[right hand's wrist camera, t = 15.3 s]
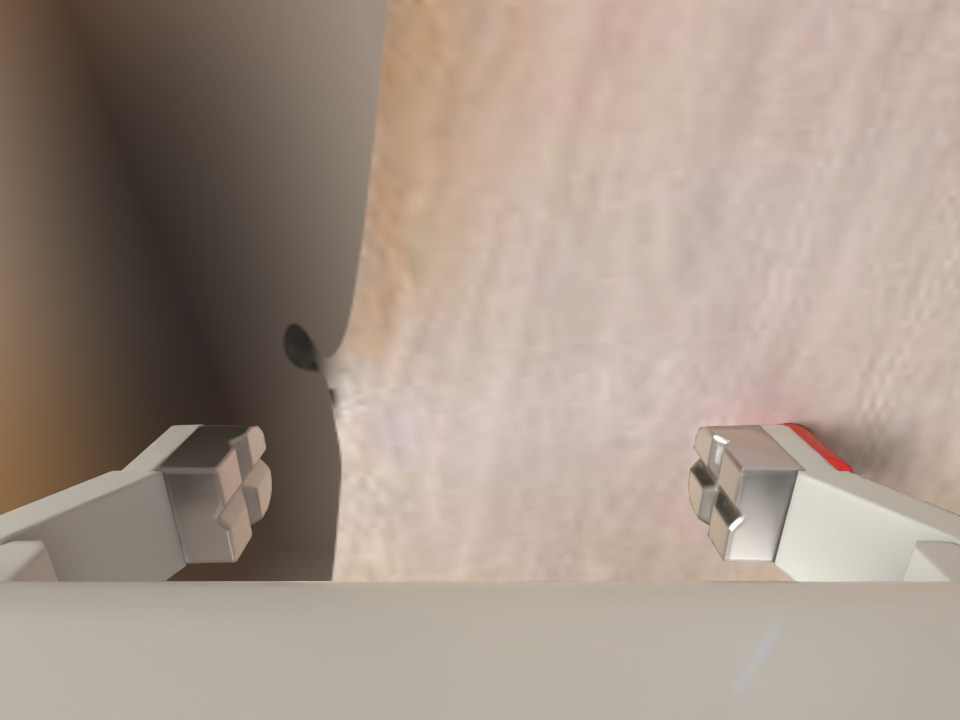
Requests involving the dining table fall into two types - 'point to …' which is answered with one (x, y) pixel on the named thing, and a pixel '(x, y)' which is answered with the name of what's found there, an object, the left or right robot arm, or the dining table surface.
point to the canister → (820, 448)
